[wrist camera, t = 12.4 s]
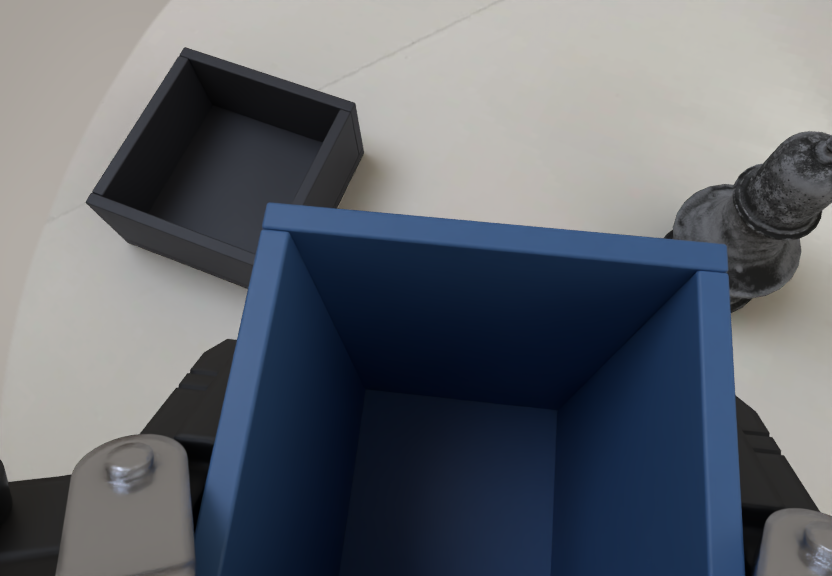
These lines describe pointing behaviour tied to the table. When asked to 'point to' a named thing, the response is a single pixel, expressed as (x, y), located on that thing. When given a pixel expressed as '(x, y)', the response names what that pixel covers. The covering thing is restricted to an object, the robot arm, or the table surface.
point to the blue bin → (475, 404)
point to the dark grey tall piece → (763, 215)
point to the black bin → (225, 163)
